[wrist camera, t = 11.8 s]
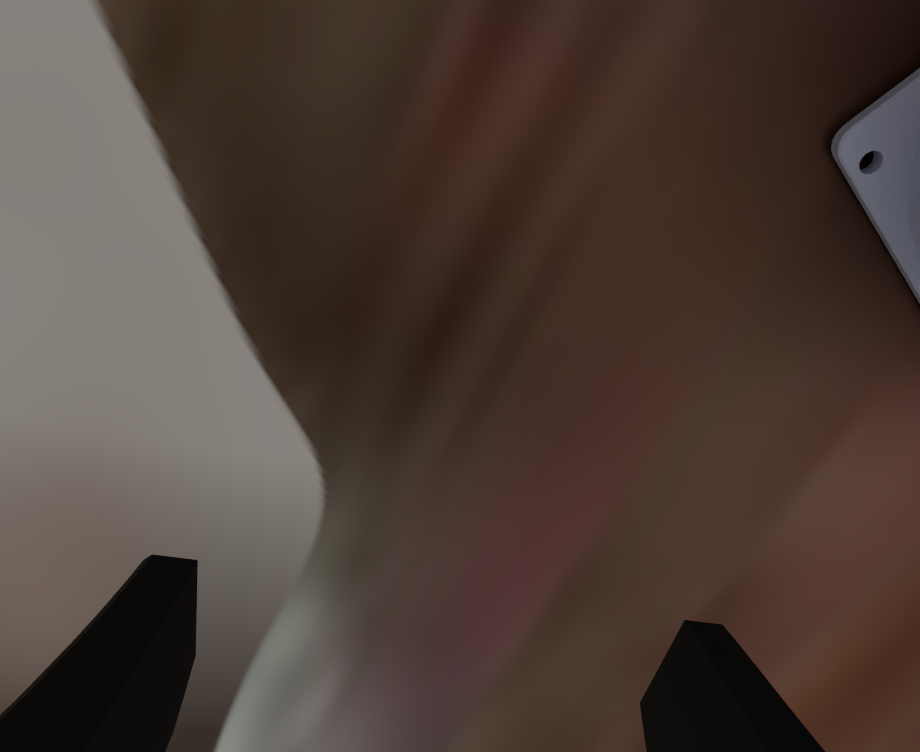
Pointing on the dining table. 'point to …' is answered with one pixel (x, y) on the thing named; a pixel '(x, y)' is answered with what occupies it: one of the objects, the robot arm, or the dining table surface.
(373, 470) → the dining table surface
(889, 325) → the dining table surface
